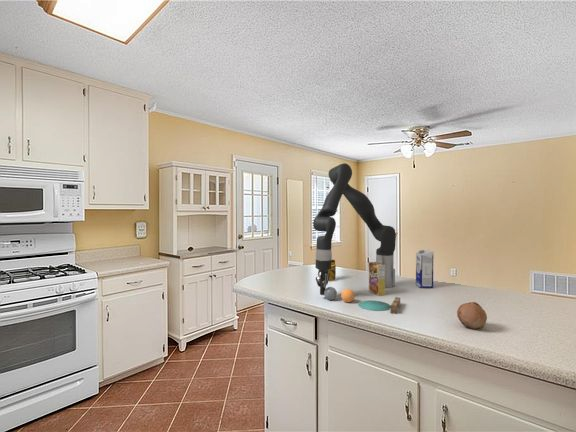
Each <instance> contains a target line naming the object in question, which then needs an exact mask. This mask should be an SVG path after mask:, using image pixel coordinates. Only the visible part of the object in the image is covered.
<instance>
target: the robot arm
mask: <svg viewBox="0 0 576 432" xmlns="http://www.w3.org/2000/svg"><path fill="white" fill-rule="evenodd" d="M352 176H353V170H352V167H351V165H350V164H348V163H344V162H343V163H340V164H338V165H337V166H334V167H333V168H330V169H329V171H328V177H329V180H330V182H331V183H332V184H333V186H332V188H331V189H330V190H329V192H328V194H327V195H326V196H325V199H324V202H323V205H322V208H321V209H319V212H318V213H317V214H316V216H315V218H314V219H313V223H312V225H313V229H314V230H315V231H317V232H325V234H324V235H321V236H318V237H316V248H315V249H316V250H315V269H317V271H318V273H317V276H316V277H315V281H316V284H317V287H319V295H321V296H324V291H325V289H326V288H327V285H328V284H329V282H330V281H329V277H330V273H328V270H329V269H331V261H332V260H333V259H332V240H333V237H334V232H335V230H336V227H337V226H336V225H337V223H336V220H335V218H334V216H335V215H336V214H337V211H338V207H339V205H340V201H341V199H342V197H343V196H344V198H345V199H346V200H347V201H348V202H349V204H350V205H351V206H352V208H353V209H354V211H355V212H356V213H357V215H359V217H360V218H361V219H362V220H363V222H364V223H365V225H366V227H368V229H369V230H370V232H371V234H372V236H373V237H374V239H375V240H377V241H378V242H380V246H379V247H378V248H377V249H376V250H375V262H377V263H380V264H383V265H385V288H393V287H395V286H396V269H395V268H394V256H395V255H394V254H395V253H394V252H395V250H396V242H397V234H396V229H395V228H394V227H393V226H390V225H385V224H383V223H381V221H380V220H379V219H378V217H377V215H376V212H375V208H374V205H373V203H372V202H371V200H370V199H369V197H368V196H367V195H366V194H365V193H363V192H361V191H360V190H358V189H356V188H354V187H352V186H351V185H350V184H349V182H350V180H351V179H352Z"/></svg>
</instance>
